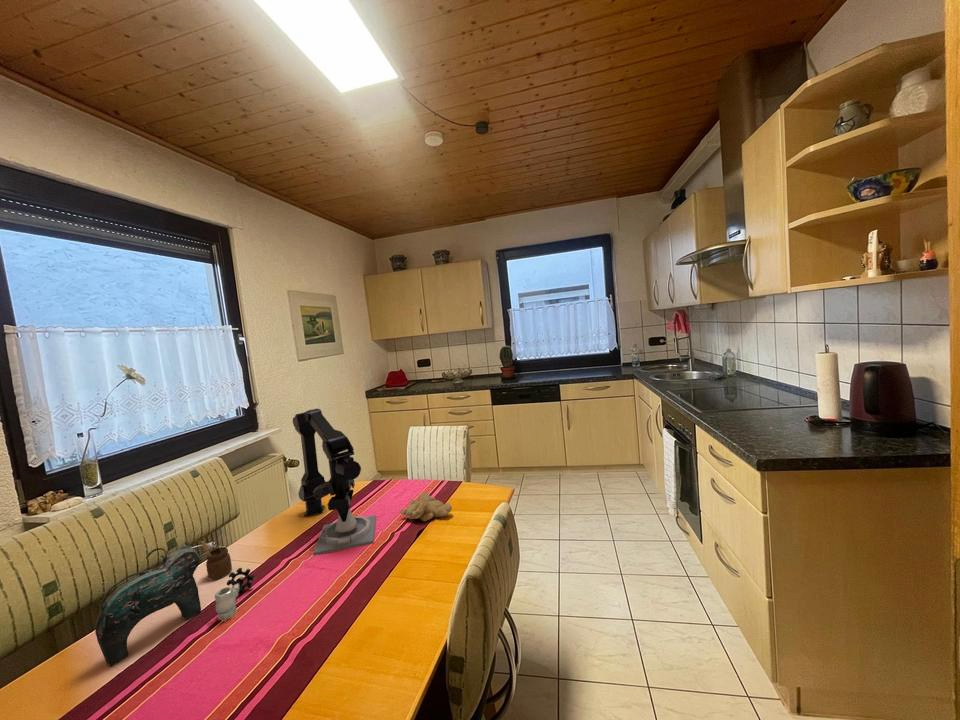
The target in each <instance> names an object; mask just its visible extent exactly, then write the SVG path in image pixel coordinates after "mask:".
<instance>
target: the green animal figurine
mask: <svg viewBox="0 0 960 720" xmlns="http://www.w3.org/2000/svg"><path fill="white" fill-rule="evenodd" d="M159 550H161V551H163V552H164V553H165V554H160V557H161V558H162V559H163V560H162V563H161V564H160V565H159V566H157V567H154V568H150V569H148V570H144V571H140V572H136V573H131V574H129V575H128V576H126V577H124V578H122V579H120V580H119V581H117V582H115V583H114V584H113V585H112V586H111V587H110V588H108V590H106V592H105V593H104V595H103V596H102V600H101V602H100V608H99V609H100V610H99V613H98V616H97V619H96V622H95V628H94V629H95V631H94V632H95V636H96V640H97V643H98V645H99V648H100V651H101V653H102V656H103V657H104V661H105V663H106V664H107V665H108V666H109V667H113V666H114V665H117V664H119V663H120V662H122V661H123V660H125V659H126V658H127V657H128V656H129V650H128V638H129V636H130V634H131V632H132V631H133V630H134V628H135V626H137V625H138V623H140V621H142V620H143V619H144V618H146V617H148V616H150V615H152V614H154V613H156V612H158V611H160V610H162V609H165V608H167V607H170V606H172V605H173V604H175V605H176V607H177V608H178V610H179V611H180V614H181V617H182V618H183V619H184V620H186V621H189V620H190V619H192V618H193V617H194V616H196V615H198V614H200V613H202V607H201V599H200V595H199V588H198V585H197V582H196V579H195V577H194V574H195V572H196V570H197V568H198V567H199V564H200V557H199V554H198V552H197V551H196V550H195V549H194V548H192V547H191V545H190V544H189V542H188V541H184V542H183V545H182V546H181V548H178V549H175V550H174V551H172V552H171V553H170V554H167V551H166V550H165V548H162V547H158V548H156V547H155V548H154V549H152V550H151V551H149V552H148V554H147V555H146V557H145V559H147V560H148V558H149V557H150V556H151V554H153V553H154V552H156V551H159ZM134 576H135V577H134ZM131 577H133V578H131ZM129 578H131V579H130V580H128V581H127V582H125V583H123V584H122V585H120V586H118V587H117V585H119V584H121V583H122V582H124V581H125V580H127V579H129ZM115 587H117V588H115ZM114 588H115V590H114V591H113V592H112V593H111V594H110V595H109V593H110V592H111V591H112V589H114ZM108 595H109V596H108ZM107 596H108V597H107ZM105 599H106V600H105Z"/></svg>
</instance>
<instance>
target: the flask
mask: <svg viewBox="0 0 960 720" xmlns="http://www.w3.org/2000/svg"><path fill="white" fill-rule="evenodd" d="M354 516H355V515H353V513H352V511H351V509H350V508H349V511H348V515H347V519H346V521H345V522H342V520H341V517H340V515H339V514H338V516H337V520H336V521H337V524H336V528H335V532H339V533H343V532H348V531H351V530H353V529H354V528H355V527H357V521H356V519H355V518H354Z"/></svg>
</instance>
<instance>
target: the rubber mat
mask: <svg viewBox="0 0 960 720" xmlns="http://www.w3.org/2000/svg"><path fill="white" fill-rule="evenodd" d="M365 517H366V518H368V519H369V520H370V522H371V528H370V531H369V532H368V533H367V534H366V535H365V536H364V537H363V538H361V539H359V540H356V541H354V542H352V543H348V544H343V545H339V546H338V545H337V546H336V545H327V544H326V543H325V542H324V541H322V532H323V530H324V528H326V527H327V526H328V525H330V524H331V523H325V524H324V525H323V526H322V529H321V532H320V534H319V536H318V540H317V542H316V545H315V547H314V549H313V552H312V554H313V556H316V555H322V554H326V553H331V552H336V551H341V550H346V549H351V548H357V547H362V546H366V545H370V544H374V542H375V532H376V525H377V524H376V523H377V515H369V516H365ZM365 526H366V525H365V524H363V523H357V527H355V528H354V529H353V530H351V531H348V532H343V533H339V532H335V529H333V530H332V531H331V532H330V533H328V536H329V537H332V538H342V537H347V536H351V535H353V534H355V533H357V532H359V531H361V530H362V529H363V528H364V527H365Z"/></svg>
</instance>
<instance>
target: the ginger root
mask: <svg viewBox="0 0 960 720" xmlns="http://www.w3.org/2000/svg"><path fill="white" fill-rule="evenodd" d="M452 509H453V506H452V505H451V504H450V502H446V503H443V502H442V501H440V500H439V499H437V500H436V498H435V497H434V496H430V494H429V493H427V492H425V491H423V492H422V493H421V494H420V495H418V499H412V500H411V501H409V503H408V505H407V506H406V508H404V509H401V510H400V511H399V513H400V514H401V515H406V517H407V518H408V519H409V520H414V519H415V520H417V519H420V521H421V522H427V521H429V520H431V519H433V518H442V517H445V516H447V515H448V514H449V513H451V511H452Z"/></svg>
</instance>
